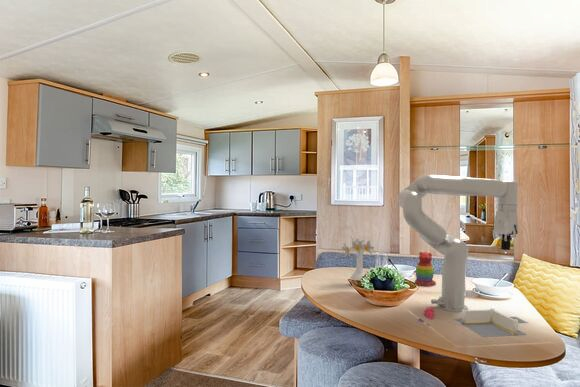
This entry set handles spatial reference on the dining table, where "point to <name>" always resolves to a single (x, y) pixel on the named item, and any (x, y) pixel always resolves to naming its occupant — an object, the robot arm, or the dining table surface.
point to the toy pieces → (428, 314)
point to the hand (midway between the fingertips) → (505, 249)
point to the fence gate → (505, 321)
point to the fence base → (486, 323)
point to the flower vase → (358, 256)
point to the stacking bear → (425, 270)
